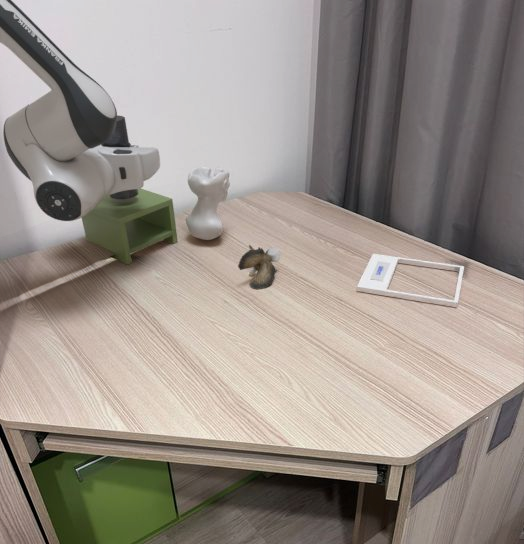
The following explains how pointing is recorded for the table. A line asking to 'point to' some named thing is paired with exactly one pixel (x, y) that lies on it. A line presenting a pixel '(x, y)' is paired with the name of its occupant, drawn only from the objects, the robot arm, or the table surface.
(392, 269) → the photo frame
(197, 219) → the white hourglass figure
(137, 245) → the nightstand
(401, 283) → the table surface
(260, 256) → the eagle figurine
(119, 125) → the coffee pot
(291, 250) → the table surface
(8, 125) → the robot arm
